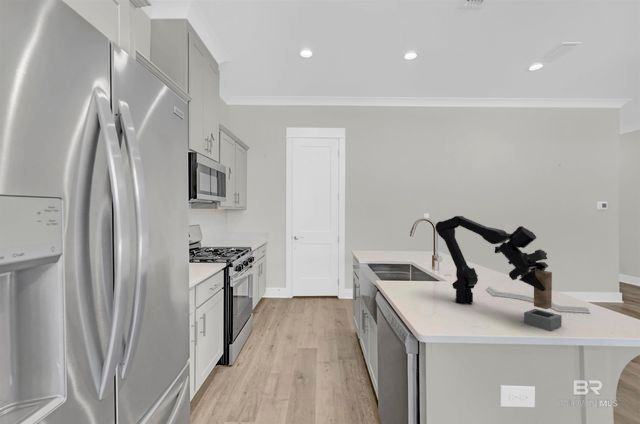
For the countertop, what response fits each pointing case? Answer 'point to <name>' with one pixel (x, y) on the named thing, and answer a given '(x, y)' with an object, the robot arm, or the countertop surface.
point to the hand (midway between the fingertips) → (547, 289)
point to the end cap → (543, 319)
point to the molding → (531, 299)
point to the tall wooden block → (543, 297)
